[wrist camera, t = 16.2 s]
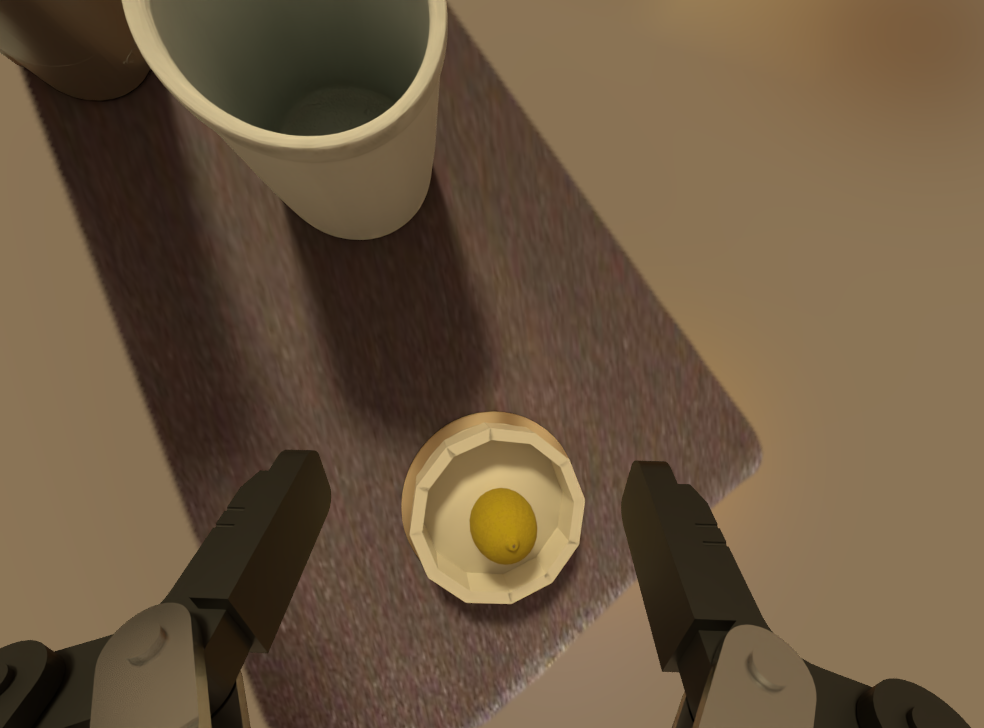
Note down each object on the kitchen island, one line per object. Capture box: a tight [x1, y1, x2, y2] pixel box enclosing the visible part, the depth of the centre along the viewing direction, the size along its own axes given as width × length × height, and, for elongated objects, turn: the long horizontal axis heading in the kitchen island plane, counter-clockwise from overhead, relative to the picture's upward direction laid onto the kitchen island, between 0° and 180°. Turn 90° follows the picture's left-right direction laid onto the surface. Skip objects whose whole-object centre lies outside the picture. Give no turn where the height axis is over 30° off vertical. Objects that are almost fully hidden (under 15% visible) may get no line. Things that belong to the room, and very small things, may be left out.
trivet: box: [401, 411, 568, 561], centre depth 39 cm, size 17×17×1 cm
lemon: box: [469, 488, 537, 565], centre depth 33 cm, size 6×6×8 cm
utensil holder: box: [122, 0, 448, 240], centre depth 28 cm, size 15×15×18 cm
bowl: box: [410, 422, 585, 604], centre depth 36 cm, size 15×15×4 cm
